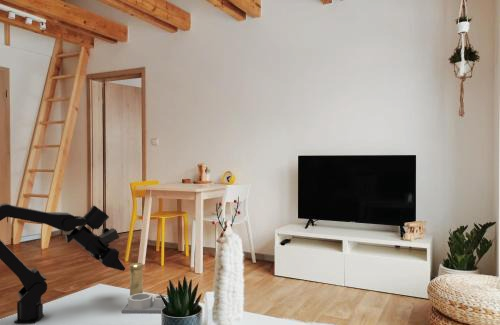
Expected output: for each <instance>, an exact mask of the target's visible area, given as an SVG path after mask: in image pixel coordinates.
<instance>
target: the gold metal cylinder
mask: <svg viewBox="0 0 500 325" xmlns="http://www.w3.org/2000/svg"><path fill="white" fill-rule="evenodd" d="M143 265H144V264H143V263H142V262H133V263H130V264H129V297H130V296H131V295H134V294H138V293H144V292H143V291H144V290H143V289H144V288H143V283H144V282H143V278H144V277H143V276H144V275H143V274H144V272H143V268H144V266H143Z"/></svg>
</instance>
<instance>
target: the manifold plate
mask: <svg viewBox="0 0 500 325" xmlns="http://www.w3.org/2000/svg"><path fill="white" fill-rule="evenodd" d="M160 295H162V296H163V297H165V298H166V300H167V301H169V297H168V298H167V296H168V295H167V294H158V295H154V296H153V295H152V294H151V293H148V292H146V293H145V292H143V293H138V294H134V295H131V296H130V295H129V297H128V298H127V304H126V305H125V306H124V307H123V308H122V310H121V314H162V313H161V310H162V309H163V308H164V307H165V306H164V303H163V301H162V299H161V296H160Z"/></svg>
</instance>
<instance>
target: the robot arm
mask: <svg viewBox="0 0 500 325" xmlns="http://www.w3.org/2000/svg"><path fill="white" fill-rule="evenodd" d="M5 218H12V219H15V220H23V221H26V222H31V223H32V222H33V223H38V224H43V225H47V226H48V227H52V228H55V229H56V230H60V231H63V232H65V234H64V235H65V242H66V243H68V244H69V243H70V242H72V240H73V241H75V242H76V243H77V244H78V245H79V246H80V247H82V248H83V249H84V250H85V251H86V252H88V254H89V256H91V257H92V258H93V259H95V260H96V261H99V263H100V264H102V265H103V266H104V267H105V268H110V269H113V270H118V271H122V272H124V271H125V270H126V267H125V266H124V264H123V263H122V262H121V260H120V259H119V256H120V251H119V250H118V249H116V248H115V247H113V246H111V247H110V243H112V242H114V241H115V240H118V239H120V235H119V233H118V230H117V229H116V228H114V227H113V228H107V227H104V228H102V229H101V234H100V235H97V234H95V233H94V232H93V231H94V230H99V229H100V228H101V227H102V226H103V225H104V224H105V223H106V222H107V221H108V219H110V217H109V215H108V214H107V213H106V212H105V211H103V210H101V209H100V208H99V207H97V206H96V205H92V206H91V207H90V208H89V210H88V211H87V212H86V213H85V214H84V215H83V216H82V215H73V214H71V213H69V212H60V211H59V212H58V211H57V212H50V211H49V212H47V211H44V210H37V209H32V208H28V207H22V206H18V205H14V204H10V203H7V202H3V203H1V204H0V222H1V221H2V220H4V219H5ZM89 228H90V229H91V230H92V231H91V230H90V229H89ZM0 260H1V262H2V263H3V264H5V266H6V267H7V268H8V269H10V271H11V272H12V273H14V275H15V276H16V277H17V278H18V279H19V281H20V283H21V284H22V287H21V288H20V289H19V290H18V292H17V295H18V298H19V300H18V301H16V318H17V319H15V320H14V321H13V323H14V324H34V323H36V322H37V321H39V320H40V319H42V318H43V317H44V316H45V314H44V305H43V303H42V296H43V295H44V294H45V293H46V292H47V290H48V284H47V282H46V281H47V278H46V276H45V275H44V274H42V273H41V272H40V271H39V270H38V268H37V267H36V266H35V267H34V268H32V269H31V268H29V267H28V266H27V265H25V263H24V262H23V261H22V260H21V259H20V258H19V257H18V256H17V254H15V253H14V252H13V251H12V249H10V248H9V247H8V246H7V244H5V243H4V242H3V240H1V239H0Z"/></svg>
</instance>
